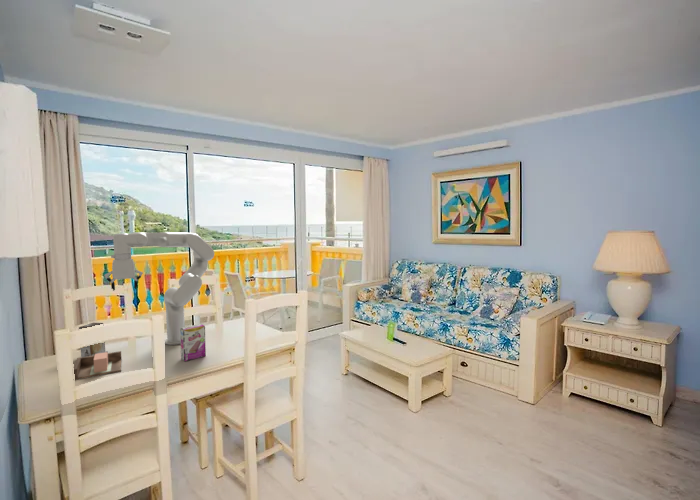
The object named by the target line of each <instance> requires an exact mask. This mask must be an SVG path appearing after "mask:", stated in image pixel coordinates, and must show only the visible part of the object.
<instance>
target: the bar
mask: <svg viewBox="0 0 700 500" xmlns="http://www.w3.org/2000/svg"><path fill="white" fill-rule="evenodd" d="M108 353H109V352H108V350H105V352H99V353H95V356H94V373H96V372H101V371H107V369H108Z"/></svg>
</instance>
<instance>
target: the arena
mask: <svg viewBox="0 0 700 500" xmlns="http://www.w3.org/2000/svg"><path fill="white" fill-rule="evenodd" d="M94 356H95V355H93V356H87V357H81V356H80V357H77V358H76V359H75V362H74V366H73V368H74V374H75V380H74V381H76V379H77V380H80V379H79V378H83V379H87V377H88V378H93V377H92V376H94V377H99V376H103V375H102V374H105V375H108V374H107V373H110V374H115V373H116V374H117V373H121V372H122V361H123V358H122V351H121V350H120V351H115V352H114V351H113V352H108V369H107V371H101V372H96V373H94ZM98 375H99V376H98Z"/></svg>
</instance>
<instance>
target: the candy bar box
mask: <svg viewBox="0 0 700 500" xmlns="http://www.w3.org/2000/svg"><path fill="white" fill-rule="evenodd" d="M180 341H181V344H180V360H182V361H183V362H187V361H191V360H195V359H199V358H203V357H206V352H207V351H206V350H207V349H206V325H204V324H202V323H200V324H194V325H187V326H185V327H183V328H180Z"/></svg>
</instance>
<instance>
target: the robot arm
mask: <svg viewBox="0 0 700 500" xmlns="http://www.w3.org/2000/svg"><path fill="white" fill-rule="evenodd" d="M112 237H113V238H112V241H113V253H114V254H113V255H110V258H111V259H113V260H112V265H111V269H112V270H111V271H109V272H107V273H105V274H104V278H105V279H106V280H107V282H109V283H110V284H111V290H112V291H114V292H115V290H116V283H115V281H117V280H126V279H127V280H129V279H133V280H134V282H133V284H134V289H137V287H138V281H139V280H140V279H141V277H142V276H143V275H144V272H143V271H140V270H138V269H136V267H135V262H134V261H135V260H134V259H133V258H132V249H131V248H132V247H136V248H137V247H140V248H141V247H145V246H147V247H148V246H149V247H151V246H152V247H159V248H190V249H191V250H192V256H193V263H192V264H191V266H190V267H189V268H188V269H187V270H186V271H185V272H184V274H182V275H181V276H180V278H179V279H178V284H179V287H170V288H168V289H166V291H165V292H164V294H163V300H164V305H165V317H166V318H165V322H166V339H164V341H165V343H164V344H165V345H168V346H173V345H175V346H176V345H181V341H180V328H183V327H186V325H185V305H187V304H188V303H189V302H190V301H191V300H192V299H193V298H194V296H196V294H197V293H198V292H199V291H200V290H201V288H202V285H203V281H202V277H203V276H204V274H205V273H206V271H208V270H207V269H208V267H209V265H208V264H209V261H211V260H212V259H214V258H215V249H213V248H212V247H211V245H209V244H208V242H206V241H205V240H204V239H203V238H202V237H201V236H200V235H199V234H197V233H194V232H180V231H179V232H172V231H171V232H170V231H160V232H158V231H157V232H146V231H145V232H143V231H141V232H140V231H139V232H138V231H137V232H136V231H135V232H131V233H123V232H122V233H115V234H113V236H112ZM136 274H138V276H136ZM110 275H112V278H110Z"/></svg>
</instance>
